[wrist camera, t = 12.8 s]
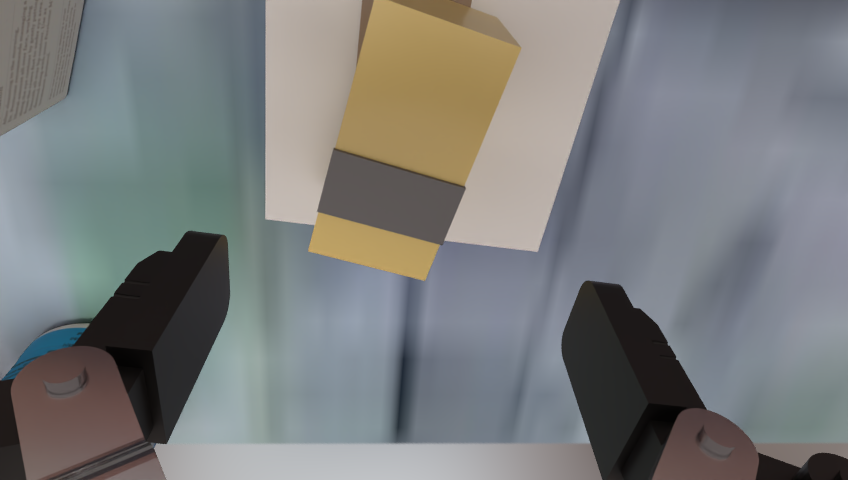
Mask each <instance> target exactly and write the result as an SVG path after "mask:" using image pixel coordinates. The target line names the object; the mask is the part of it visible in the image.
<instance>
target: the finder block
mask: <svg viewBox="0 0 848 480" xmlns="http://www.w3.org/2000/svg"><path fill="white" fill-rule="evenodd" d="M521 48H522V47H521V46H520V45H519V44H518V43H517V41H516V40H515V39H514V38H513V36H512V35H511V34H510V33H509V31H508V30H507V29H506V28H505V26H504V25H503V24H502V23H501V22H500V20H499V19H498V18H497V17H495V16H492V15H489V14H486V13H484V12H481V11H478V10H475V9H473V8H470V7H467V6H464V5H462V4H459V3H456V2H453V1H451V0H374V2H373V6H372V10H371V14H370V17H369V21H368V25H367V29H366V33H365V36H364V40H363V44H362V48H361V52H360V55H359V59H358V63H357V67H356V71H355V74H354V78H353V82H352V86H351V90H350V93H349V97H348V101H347V105H346V109H345V113H344V116H343V120H342V124H341V128H340V132H339V135H338V139H337V143H336V147H335V148H333V152H332V156H331V159H330V163H329V167H328V171H327V175H326V179H325V182H324V186H323V190H322V194H321V198H320V202H319V205H318V209H317V212H318V215H317V219H316V223H315V227H314V231H313V234H312V238H311V242H310V246H309V250H308V251H309V252H313V253H317V254H321V255H325V256H329V257H333V258H337V259H341V260H345V261H349V262H353V263H357V264H360V265H364V266H368V267H372V268H376V269H380V270H384V271H388V272H392V273H396V274H400V275H404V276H408V277H412V278H416V279H420V280H424V281H425V279H426V277H427V275H428V272H429V270H430V267H431V265H432V262H433V260H434V258H435V255H436V253H437V250H438V248H439V246H440V245H443V242H444V240H445V238H446V235H447V233H448V230H449V228H450V226H451V223H452V221H453V218H454V216H455V214H456V211H457V209H458V206H459V204H460V202H461V199H462V197H463V195H464V192H465V190H466V187H465V183H466V181H467V178H468V176H469V173H470V171H471V169H472V166H473V164H474V161H475V159H476V157H477V154H478V152H479V149H480V147H481V145H482V142H483V140H484V137H485V135H486V133H487V130H488V128H489V125H490V123H491V121H492V118H493V116H494V113H495V111H496V109H497V106H498V104H499V101H500V99H501V96H502V94H503V92H504V89H505V87H506V84H507V82H508V80H509V77H510V75H511V72H512V70H513V68H514V65H515V63H516V60H517V58H518V56H519V53H520V51H521Z"/></svg>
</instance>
